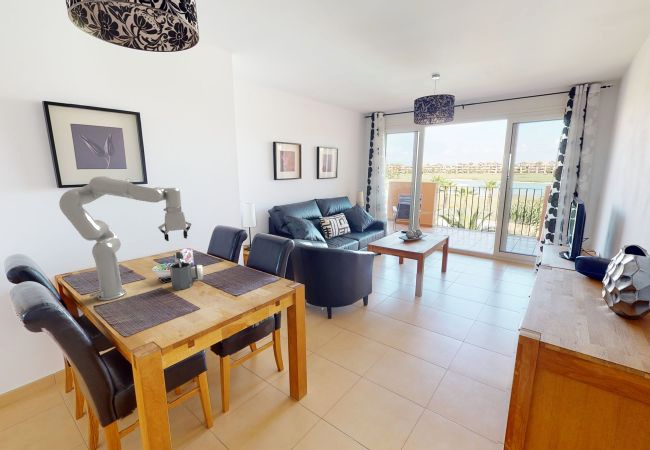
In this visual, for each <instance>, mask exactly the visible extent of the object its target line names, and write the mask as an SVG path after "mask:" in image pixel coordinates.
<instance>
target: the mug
mask: <svg viewBox="0 0 650 450" xmlns="http://www.w3.org/2000/svg"><path fill="white" fill-rule="evenodd" d="M196 265H197V273H198V279H195V280H192V282H193V281H194V282H196V281H197V282H198V281H201V280H203V279H204V269H203V265H202V264H196ZM191 273H192V278H195V277H196V274H195V266H194V267H191Z"/></svg>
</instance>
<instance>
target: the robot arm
mask: <svg viewBox="0 0 650 450" xmlns="http://www.w3.org/2000/svg"><path fill="white" fill-rule="evenodd" d="M105 195H108V196H114V197H121V198H127V199H129V200H130V199H131V200H136V201H142V202H147V203H148V202H149V203H159V202H161V201H165V208H163V212H165V213H164V214H165V215H164V223H163V224H161V225H158V227H157V228H158V230H159V231H160V232H161V233H162V234H163V235H164V240H165V241H166V242H169V241H170V240H169V234H168V233H169V232H174V231H181V230H183V233H182V235H183V238H184V239H187V238H188V232H189V230H190V229H191V226H192V223H191V222H189V221H186V217H185V213H184V211H183V210H182V200H181V199H182V198H181V190H180V188H179V187H167V188H166V187H160V186H158V187H148V186H143V185H137V184H134V183H132V182H130V181H126V180H121V179H115V178H111V177H108V176H105V175H104V176H94V177H92V178H91V179H90V180H89V183H88V184H85V185H83V186H82V187H77V188H72V189H68V190H67V191H65V192H64V193H63V194H62V195H61V196H60V199H59V202H58V204H59V209H60V210H61V212H62V214H63V215H64V216H65V217H66V219H67V220H68V221H69V222H70V223H71V225H72V226H73V227H74V229H75V230H77V232H78V234H79V235H80V236H81V237H82V238H83V239H84V240H86V241H89V242H90V241H96V243H95V244H94V245H93V247H92V249H91V253H92V257H93V259H94V263H95V266H96V267H95V268H96V273H97V277H98V278H97V279H98V283H99V288H98V290H96V291H95V292H90V293H89V297H90V298H92V297H93V298H97V299H98V300H99V301H110V300H111V301H112V300H115V299H116V300H117V299H119V298H122V297H124V296H125V295H126V293H127V290H126V289H124V288H123V285H122V284H123V283H122V280H121V273H120V266H119V261H118V258H117V254H116V253H117V252H118V251H119V250H120V248H121V244H122V243H121V240H120V239H119V237H118V236H117V235H116V234H115V232H114V231H113V230H112V228H111V227H110V225H108V223H106V222H105V221H103V220H100V219H94V217H93V216H92V215H91V214H90V213H89V211H87V210H86V209H85V208H84V207H83V205H87V204H90V203H92V202H94V201H96V200H97V199H100V198H101V197H103V196H105ZM163 228H164V229H165V230H164V229H163Z"/></svg>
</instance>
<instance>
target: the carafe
mask: <svg viewBox="0 0 650 450" xmlns="http://www.w3.org/2000/svg"><path fill="white" fill-rule="evenodd" d="M197 265H198V264H195V263H194V265H191V264H189V263H181V268H180V267H179V263H178V264H175V263H173V264H172V265H170V266H169V272H170V280H171V281H170V282H171V288H172V289H173V290H174V291H175V290H176V291H183V290H186V289H190V288H191V287H192V286H193V281H192V280H195V279H198V273H197ZM194 266H195V274H196V277H195V278H192V273H191V267H194Z"/></svg>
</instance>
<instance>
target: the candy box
mask: <svg viewBox="0 0 650 450" xmlns="http://www.w3.org/2000/svg"><path fill="white" fill-rule="evenodd" d="M178 252H182V258H181V259H185V261H184V262H181V263H189V264H191V265H194V264H195V261H194V259H195V258H194V251H193V248H183V249H181V250H180V251H178ZM173 259H174V264H178V263H176V262H175V260H177V259H179V258H176V253H173Z"/></svg>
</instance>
